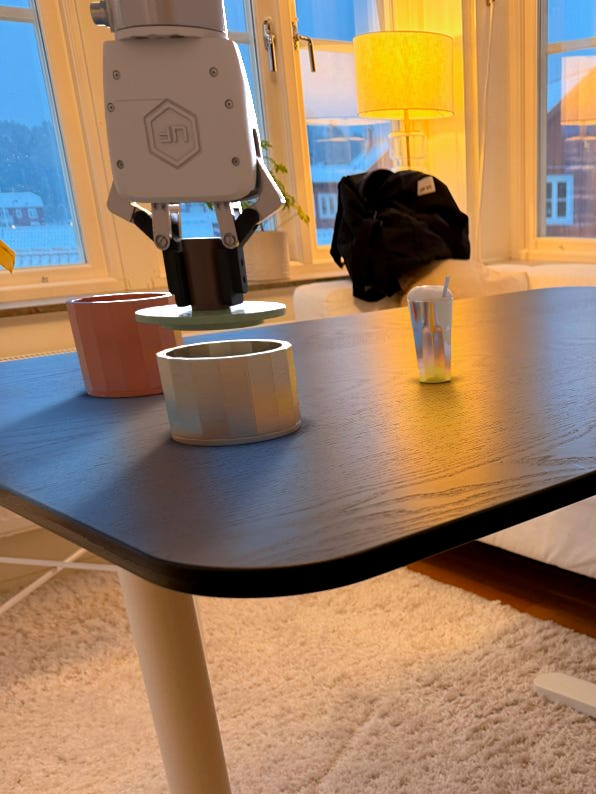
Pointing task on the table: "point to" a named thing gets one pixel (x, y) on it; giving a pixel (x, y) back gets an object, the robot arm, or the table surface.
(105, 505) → the table surface
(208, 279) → the lid
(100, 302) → the cup
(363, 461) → the table surface
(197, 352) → the tin
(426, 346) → the milkshake
